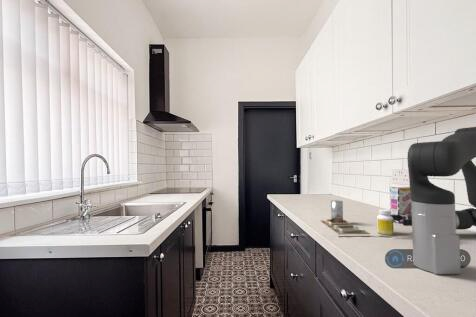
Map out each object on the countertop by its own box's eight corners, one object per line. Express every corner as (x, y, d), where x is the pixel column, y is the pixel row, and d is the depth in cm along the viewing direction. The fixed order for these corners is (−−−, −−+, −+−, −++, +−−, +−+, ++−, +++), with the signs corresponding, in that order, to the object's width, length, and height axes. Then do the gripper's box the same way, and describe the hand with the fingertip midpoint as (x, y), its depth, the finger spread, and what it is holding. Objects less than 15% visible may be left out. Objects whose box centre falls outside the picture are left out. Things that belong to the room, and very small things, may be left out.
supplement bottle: (395, 238, 93) (394, 211, 94) (378, 237, 95) (378, 211, 95) (392, 234, 98) (391, 209, 99) (376, 233, 100) (375, 208, 100)
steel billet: (345, 224, 111) (344, 201, 112) (333, 224, 112) (333, 201, 112) (340, 222, 116) (340, 200, 117) (329, 222, 116) (329, 200, 117)
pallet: (371, 236, 96) (370, 231, 96) (339, 236, 96) (339, 231, 96) (345, 222, 120) (345, 218, 120) (319, 222, 120) (319, 218, 120)
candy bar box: (399, 223, 116) (398, 187, 117) (390, 221, 121) (389, 187, 122) (417, 221, 120) (416, 187, 120) (407, 219, 124) (406, 186, 125)
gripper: (425, 207, 104) (385, 207, 104) (454, 213, 89) (408, 213, 90) (426, 225, 103) (386, 225, 104) (455, 234, 89) (408, 235, 90)
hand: (396, 220), depth 97 cm, fingers open, 8 cm apart
